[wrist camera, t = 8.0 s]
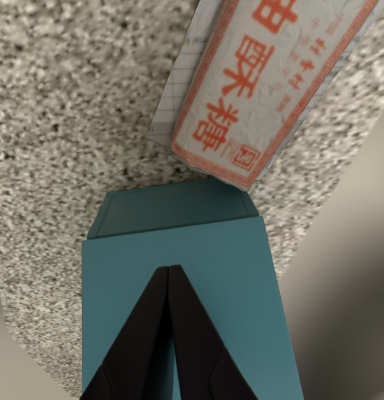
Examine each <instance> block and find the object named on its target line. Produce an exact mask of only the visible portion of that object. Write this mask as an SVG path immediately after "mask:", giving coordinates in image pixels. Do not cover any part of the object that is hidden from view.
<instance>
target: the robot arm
mask: <svg viewBox="0 0 384 400" xmlns="http://www.w3.org/2000/svg"><path fill="white" fill-rule="evenodd" d="M175 359H176V366H177V374H178V381H179V389H180V396H181V400H259V399H258V398H257V396H256V395H255V393H254V392H253V390H252V389H251V387H250V386H249V384H248V383H247V381H246V380H245V378H244V377H243V375H242V373H241V372H240V370H239V368H238V367H237V365H236V363H235V362H234V360H233V358H232V356H231V355H230V353H229V351H228V349H227V347H225V344H224V342H223V340H222V338H221V337H220V335H219V333H218V331H217V329H216V328H215V326H214V324H213V322H212V320H211V318H210V317H209V315H208V313H207V311H206V309H205V307H204V306H203V304H202V302H201V300H200V298H199V297H198V295H197V293H196V291H195V289H194V287H193V286H192V284H191V282H190V280H189V278H188V277H187V275H186V273H185V271H184V269H183V267H182V266H181V265H180V264H177V265H170V266H169V267H168V266H162V267H157V268H156V270H155V271H154V273H153V275H152V277H151V278H150V280H149V282H148V283H147V285H146V287H145V289H144V290H143V292H142V294H141V295H140V297H139V299H138V301H137V302H136V304H135V306H134V307H133V309H132V311H131V313H130V314H129V316H128V318H127V320H126V321H125V323H124V325H123V326H122V328H121V330H120V332H119V333H118V335H117V337H116V338H115V340H114V342H113V344H112V345H111V347H110V349H109V350H108V352H107V354H106V356H105V357H104V359H103V361H102V364H101V365H100V366H99V367H98V369H97V371H96V372H95V374H94V376H93V378H92V379H91V381H90V383H89V384H88V386H87V388H86V389H85V391H84V392H83V394H82V396H81V397H80V399H79V400H172V398H173V379H174V360H175Z"/></svg>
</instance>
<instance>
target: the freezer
mask: <svg viewBox="0 0 384 400" xmlns="http://www.w3.org/2000/svg"><path fill="white" fill-rule="evenodd" d="M258 216H259V212H258V210H257V209H256V207H255V205H254V203H253V202H252V200H251V198H250V197H249V195H248V193H247V192H242V191H241V190H239V189H237V188H236V187H235V186H233V185H231V184H225V183H224V182H223V181H221V180H219V179H217V178H210V179H203V180H196V181H188V182H181V183H174V184H166V185H159V186H152V187H144V188H137V189H130V190H122V191H115V192H108V193H107V194H106V197H105V199H104V201H103V203H102V205H101V207H100V210H99V212H98V214H97V216H96V218H95V220H94V222H93V224H92V227H91V229H90V231H89V233H88V235H87V240H92V239H99V238H106V237H113V236H121V235H128V234H135V233H142V232H150V231H157V230H164V229H171V228H178V227H186V226H193V225H200V224H207V223H215V222H222V221H229V220H236V219H243V218H251V217H258Z"/></svg>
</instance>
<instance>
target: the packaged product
mask: <svg viewBox="0 0 384 400" xmlns="http://www.w3.org/2000/svg"><path fill="white" fill-rule="evenodd" d="M383 9H384V0H200V1H199V4H198V6H197V9H196V11H195V14H194V16H193V18H192V21H191V23H190V26H189V28H188V31H187V33H186V36H185V39H184V42H183V45H182V48H181V51H180V53H179V56H178V57H177V59H176V61H175V63H174V65H173V68H172V70H171V73H170V75H169V78H168V80H167V83H166V85H165V88H164V90H163V93H162V96H161V99H160V102H159V104H158V107H157V110H156V113H155V116H154V118H153V120H152V122H151V124H150V127H149V129H148V131H147V134H146V136H145V137H146V138H148V139H151V140H153V141H155V142H157V143H159V144H161V145H163V146H166V147H168V148H170V149H172V156H173V157H174V158H175V159H176V160H179V161H182V162H183V163H185V164H186V165H187V167H188V168H189V169H190V170H194V171H197V172H201V173H203V174H208V175H213V176H214V177H216V178H217V179H219V180H221V181H223V182H224V183H225V184H231V185H233V186H235V187H236V188H237V189H239V190H241V191H242V192H247V191H249V190H250V188H251V186H252V184H259V183H261V181H262V179H263V177H264V175H265V174H266V173H267V172H268V171H269V169H270V168H271V166H272V164H273V163H274V162H275V160H276V159H277V158H278V157H279V155H280V153H281V152H282V151H283V149H284V148H285V146H286V145H287V143H288V142H289V141H290V139H291V138H292V136H293V135H294V134H295V132H296V130H297V129H298V127H299V126H300V125H301V124H302V123H303V121H304V119H305V118H306V117H307V115H308V114H309V112H310V111H311V109H312V108H313V106H314V105H315V104H316V103H317V101H318V100H319V99H320V98H321V96H322V95H323V93H324V92H325V90H326V88H327V87H328V85H329V84H330V82H331V81H332V80H333V79H334V77H335V76H336V75H337V73H338V72H339V71H340V69H341V68H342V66H343V64H344V63H345V62H346V60H347V59H348V57H349V56H350V54H351V53H352V52H353V50H354V49H355V48H356V46H357V45H358V44H359V42H360V41H361V39H362V38H363V36H364V34H365V32H366V31H367V30H368V28H369V27H370V26H371V25H372V23H373V22H374V21H375V19H376V18H377V17H378V16H379V14H380V13H381V11H382V10H383Z"/></svg>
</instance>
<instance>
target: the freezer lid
mask: <svg viewBox="0 0 384 400" xmlns="http://www.w3.org/2000/svg"><path fill="white" fill-rule="evenodd" d="M177 264H180V265H181V266H182V267H183V269H184V271H185V273H186V275H187V277H188V278H189V280H190V282H191V284H192V286H193V287H194V289H195V291H196V293H197V295H198V297H199V298H200V300H201V302H202V304H203V306H204V307H205V309H206V311H207V313H208V315H209V317H210V318H211V320H212V322H213V324H214V326H215V328H216V329H217V331H218V333H219V335H220V337H221V338H222V340H223V342H224V344H225V347H227V349H228V351H229V353H230V355H231V356H232V358H233V360H234V362H235V363H236V365H237V367H238V368H239V370H240V372H241V373H242V375H243V377H244V378H245V380H246V381H247V383H248V384H249V386H250V387H251V389H252V390H253V392H254V393H255V395H256V396H257V398H258V399H259V400H304V398H303V394H302V389H301V385H300V381H299V376H298V371H297V367H296V362H295V358H294V354H293V349H292V345H291V340H290V336H289V331H288V327H287V322H286V318H285V313H284V309H283V305H282V300H281V296H280V291H279V287H278V282H277V278H276V273H275V269H274V264H273V260H272V255H271V251H270V246H269V242H268V237H267V233H266V229H265V224H264V220H263V216H258V217H251V218H243V219H236V220H229V221H222V222H215V223H207V224H200V225H193V226H186V227H178V228H171V229H164V230H157V231H150V232H142V233H135V234H128V235H121V236H113V237H106V238H99V239H92V240H85V241H82V394H83V392H84V391H85V389H86V388H87V386H88V384H89V383H90V381H91V379H92V378H93V376H94V374H95V372H96V371H97V369H98V367H99V366H100V365H101V364H102V361H103V359H104V357H105V356H106V354H107V352H108V350H109V349H110V347H111V345H112V344H113V342H114V340H115V338H116V337H117V335H118V333H119V332H120V330H121V328H122V326H123V325H124V323H125V321H126V320H127V318H128V316H129V314H130V313H131V311H132V309H133V307H134V306H135V304H136V302H137V301H138V299H139V297H140V295H141V294H142V292H143V290H144V289H145V287H146V285H147V283H148V282H149V280H150V278H151V277H152V275H153V273H154V271H155V270H156V268H157V267H162V266H168V267H169V266H170V265H177ZM172 400H181V396H180V389H179V381H178V374H177V366H176V359H175V360H174V379H173V398H172Z"/></svg>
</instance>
